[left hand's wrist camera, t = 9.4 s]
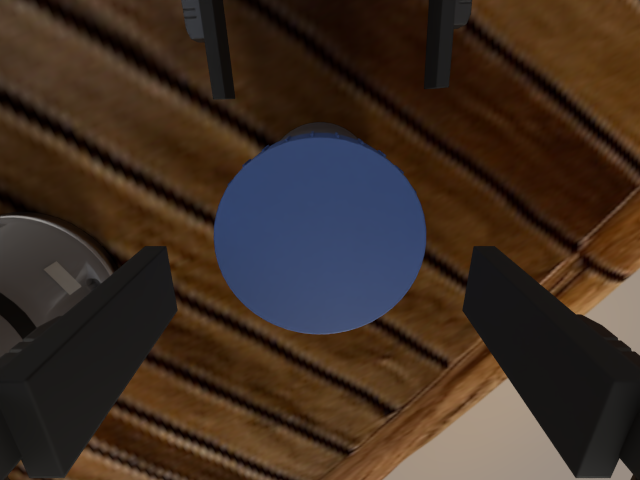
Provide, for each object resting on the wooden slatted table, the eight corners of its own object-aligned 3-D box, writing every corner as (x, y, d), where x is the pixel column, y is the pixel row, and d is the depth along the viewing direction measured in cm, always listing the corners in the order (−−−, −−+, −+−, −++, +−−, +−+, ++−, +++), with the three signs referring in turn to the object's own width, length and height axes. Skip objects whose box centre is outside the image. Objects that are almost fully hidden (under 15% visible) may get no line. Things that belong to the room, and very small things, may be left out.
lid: (251, 323, 20) (244, 348, 18) (199, 152, 17) (182, 160, 15) (422, 296, 19) (434, 319, 17) (406, 112, 16) (418, 114, 14)
